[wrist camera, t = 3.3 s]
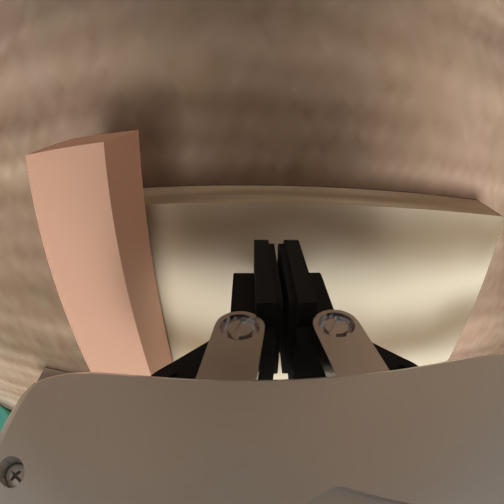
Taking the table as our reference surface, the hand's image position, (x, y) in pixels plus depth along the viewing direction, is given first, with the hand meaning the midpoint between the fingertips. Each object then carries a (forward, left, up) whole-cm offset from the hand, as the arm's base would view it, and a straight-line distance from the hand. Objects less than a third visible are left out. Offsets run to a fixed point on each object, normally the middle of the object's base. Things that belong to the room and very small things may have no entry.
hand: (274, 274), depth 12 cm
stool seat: (+6, -3, -4) cm, 8 cm away
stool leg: (+3, -6, -1) cm, 7 cm away
